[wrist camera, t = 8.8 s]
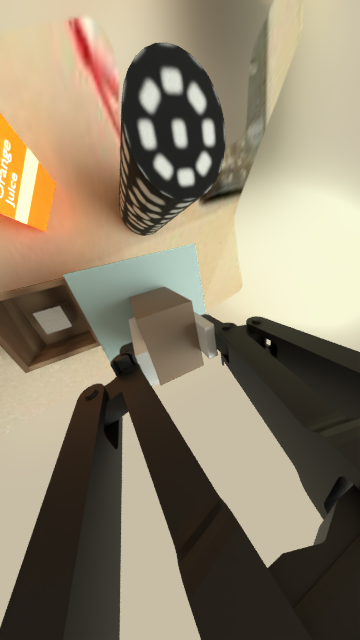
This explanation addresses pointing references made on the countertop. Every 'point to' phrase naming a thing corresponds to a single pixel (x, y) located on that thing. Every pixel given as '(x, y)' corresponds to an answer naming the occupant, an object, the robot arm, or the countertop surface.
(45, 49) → the countertop surface
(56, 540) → the robot arm
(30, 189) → the orange juice
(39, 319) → the metal cube
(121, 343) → the lid
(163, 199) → the white-spotted black cylinder
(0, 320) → the storage box
